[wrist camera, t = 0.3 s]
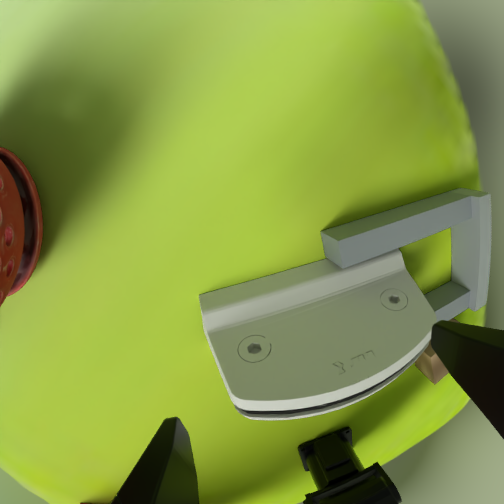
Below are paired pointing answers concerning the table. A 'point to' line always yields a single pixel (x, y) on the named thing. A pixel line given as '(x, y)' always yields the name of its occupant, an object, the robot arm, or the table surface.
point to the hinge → (316, 335)
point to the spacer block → (432, 363)
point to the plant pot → (17, 224)
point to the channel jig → (420, 226)
